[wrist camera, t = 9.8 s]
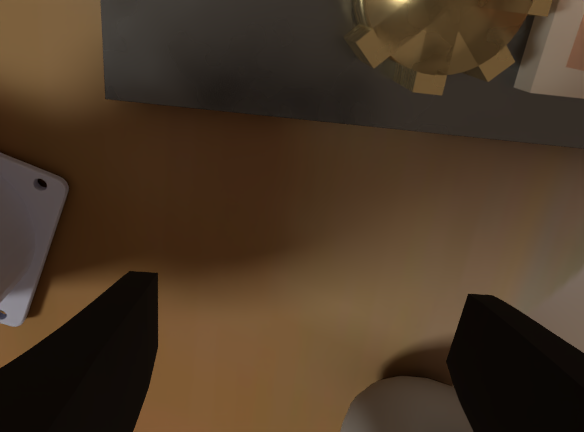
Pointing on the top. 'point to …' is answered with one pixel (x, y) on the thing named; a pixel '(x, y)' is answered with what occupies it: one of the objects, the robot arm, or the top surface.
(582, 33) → the square sleeve on tile
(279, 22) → the carrier plate
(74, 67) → the top surface
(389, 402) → the donut
